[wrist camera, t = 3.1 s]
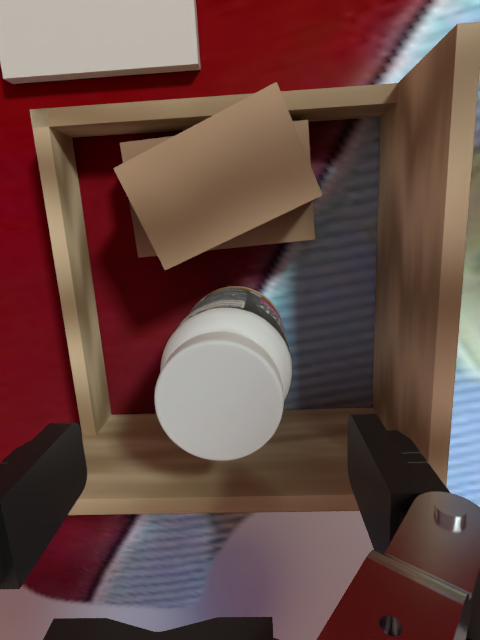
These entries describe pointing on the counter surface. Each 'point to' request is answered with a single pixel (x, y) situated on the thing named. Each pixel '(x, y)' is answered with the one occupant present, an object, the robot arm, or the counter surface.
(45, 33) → the tile
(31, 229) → the counter surface
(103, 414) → the wooden box frame
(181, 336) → the pill bottle
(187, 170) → the offcut block upper
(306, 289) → the counter surface
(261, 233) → the offcut block lower
